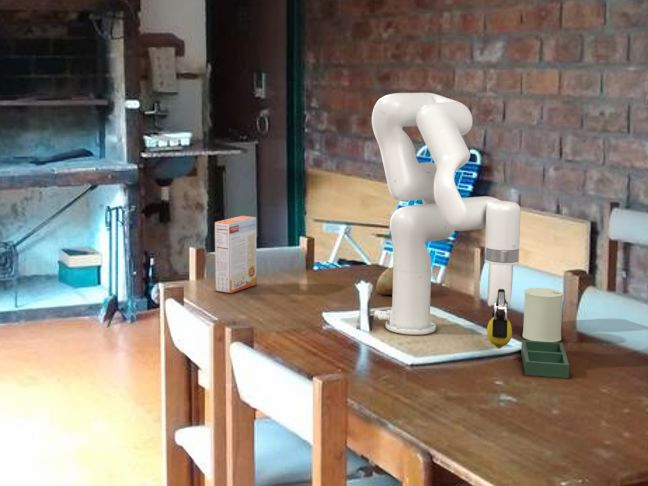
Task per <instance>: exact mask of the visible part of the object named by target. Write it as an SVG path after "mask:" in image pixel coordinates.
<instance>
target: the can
mask: <svg viewBox="0 0 648 486" xmlns="http://www.w3.org/2000/svg"><path fill="white" fill-rule="evenodd" d="M523 292H524V304H523V306H524V307H523V329H522V338H524V340H529V341H543V342H558V343H559V342H560V341H562V317H563V316H562V314H563V298H564V292H563V291H561V290H559V289H554V288H547V287H530V288H529V287H528V288H526V289H525V290H524V291H523Z"/></svg>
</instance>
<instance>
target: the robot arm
mask: <svg viewBox="0 0 648 486" xmlns="http://www.w3.org/2000/svg"><path fill="white" fill-rule="evenodd" d="M473 123H474V122H473V115H472V113H471V111H470V109H469V108H468V106H467V105H465V104H464V103H462V102H460V101H458V100H454V99H451V98H448V97H446V96H443V95H440V94H436V93H434V92H433V93H432V92H396V93H395V92H394V93H390V94H386V95H383V96H381V97H380V98H379V99H377V101H376V102H375V104H374V106H373V109H372V114H371V127H372V130H373V131H372V132H373V134H374V137H375V139H376V142H377V145H378V148H379V150H380V155H381V161H382V165H383V169H384V174H385V179H386V184H387V188H388V192H389V194H390V196H391V198H392V199H394V200H396V201H400V202H409V201H422V204H421V203H420V204H411V205H405V206H402V207H400V208H397V209H396V210H395V211H394V212H393V213H392V215H391V216H390V220H389V231H390V235H391V241H392V267H393V294H392V295H391V296H392V297H391V298H392V299H391V300H392V301H391V307H390V309H387V310H386V311H385V310H379V309H378V310H374V314H373V316H374V319H378V320H381V321H385V320H386V322H385V328H386V330H387V331H390V332H393V333H396V334H401V335H408V336H409V335H410V336H411V335H412V336H420V335H429V334H432V333H434V332H435V331H436V330H437V325H436V324H435V323H434V322H432V321H431V297H432V296H431V292H432V291H431V290H432V257H431V254H430V252H429V249H428V248H427V246H426V243H428V242H429V243H430V242H436V241H443V240H447V239H449V238H451V237H452V236H453V234H454V233H455V231H457V232H465V231H474V230H485V236H484V239H485V240H484V262H485V263H486V264H488V270H487V271H488V273H487V297H486V298H487V306H488V307H489V308H492V307H493V308H492V309H493V310H492V312H491V319H492V318H493V317H494V319H493V330H492V336H493V337H498V338H507V324H508V320H509V319H508V309H509V308H510V307H511V301H512V295H513V294H512V292H513V277H514V266H515V265H519V263H520V238H521V237H520V236H521V235H520V234H521V207H520V205H519V203H517V202H514V201H510V200H501V199H498V198H496V197H493V196H488V195H487V196H486V195H484V196H483V195H481V196H471V197H462V196H461V194H460V192H459V190H458V188H457V184H456V183H455V181H456V180H455V174H456V173H455V172H456V171H458V170H460V169H461V168H462V167H463V166H465V165H466V164H467V163H468V162H469V160H470V158H471V153H470V150H469V147H468V146H467V144H466V141H465V140H464V138H463V136H465V135H467V134H468V133H469V132H470V131H471V129H472V128H473ZM404 127H417V128H418V130H419V132H420V135H421V137H422V139H423V141H424V144H425V145H426V147H427V150H428V152H429V154H430V156H431V158H432V161H433V162H430V161H424V162H420V161H418V158H417V154H416V150H415V146H414V143H413V141H412V140H411V138H410V136H409V135H408V134H407V133H406V131H405V130H404V129H403V128H404ZM496 319H497V320H496ZM507 319H508V320H507Z"/></svg>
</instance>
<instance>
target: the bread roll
mask: <svg viewBox="0 0 648 486" xmlns="http://www.w3.org/2000/svg"><path fill="white" fill-rule="evenodd" d="M375 285H376V288H375V289H376V292H377V293H378V294H380V295H382V296H392V294H393V266H391V267H388V268H386V269H385V270H384V271H382V273H381V274H380V275H379V277H378V279H377V282H376V284H375Z"/></svg>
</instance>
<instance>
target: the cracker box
mask: <svg viewBox="0 0 648 486" xmlns="http://www.w3.org/2000/svg"><path fill="white" fill-rule="evenodd" d="M257 251H258V250H257V217H256V216H249V215H239V216H235V217H231V218H227V219H222V220H217V221H215V222H214V267H215V268H214V273H215V274H214V276H215V277H214V278H215V279H214V280H215V281H214V282H215V287H214V289H215V292H219V293H225V294H233V293H236V292H239V291H243V290H245V289H248V288H251V287H254V286H257V284H258V283H257V278H258V277H257V274H258V273H257V271H258V270H257V268H258V267H257V266H258V262H257V260H258V259H257Z"/></svg>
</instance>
